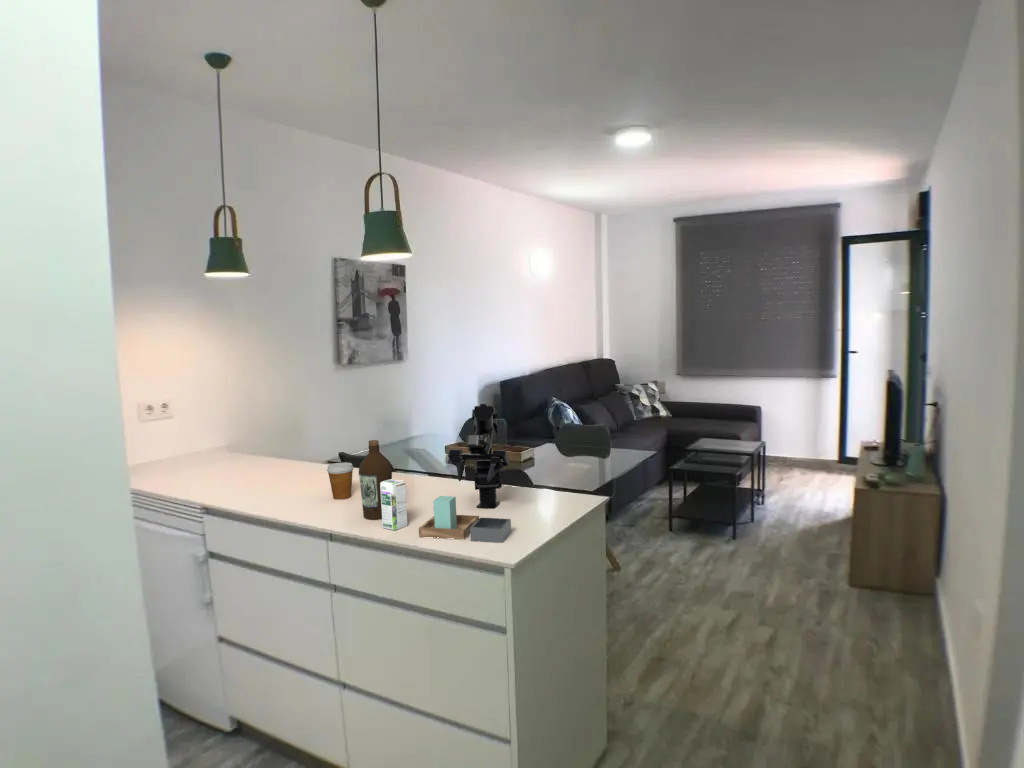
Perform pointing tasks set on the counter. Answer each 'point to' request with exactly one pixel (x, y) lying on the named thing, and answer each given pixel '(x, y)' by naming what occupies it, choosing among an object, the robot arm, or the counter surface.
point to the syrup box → (393, 504)
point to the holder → (490, 530)
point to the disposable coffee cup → (340, 479)
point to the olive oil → (373, 480)
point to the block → (445, 512)
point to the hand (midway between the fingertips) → (473, 480)
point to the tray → (460, 533)
